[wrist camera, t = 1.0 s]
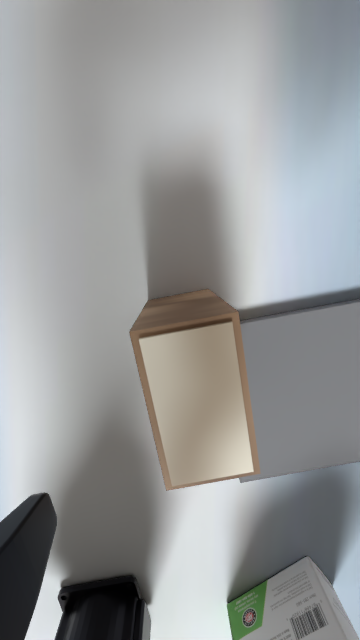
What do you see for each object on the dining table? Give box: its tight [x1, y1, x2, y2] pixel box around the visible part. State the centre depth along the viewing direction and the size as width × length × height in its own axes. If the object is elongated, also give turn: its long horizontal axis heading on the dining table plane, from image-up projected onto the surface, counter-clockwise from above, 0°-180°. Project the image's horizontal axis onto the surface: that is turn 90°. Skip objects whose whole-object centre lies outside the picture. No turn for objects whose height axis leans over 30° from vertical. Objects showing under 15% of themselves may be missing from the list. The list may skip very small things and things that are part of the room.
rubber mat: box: [239, 299, 360, 483], centre depth 19 cm, size 14×12×1 cm
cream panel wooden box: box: [129, 289, 261, 491], centre depth 14 cm, size 4×7×8 cm, turn 11°
